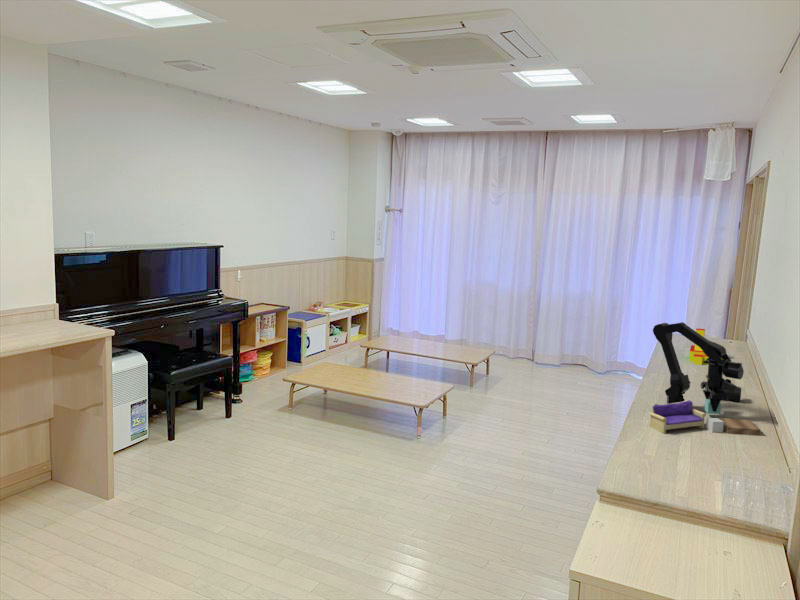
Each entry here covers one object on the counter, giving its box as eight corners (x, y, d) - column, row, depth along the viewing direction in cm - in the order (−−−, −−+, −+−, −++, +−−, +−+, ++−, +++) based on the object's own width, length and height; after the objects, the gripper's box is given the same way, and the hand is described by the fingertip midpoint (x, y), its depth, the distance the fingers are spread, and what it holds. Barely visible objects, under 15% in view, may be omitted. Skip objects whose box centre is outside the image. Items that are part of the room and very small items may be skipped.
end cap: (715, 400, 290) (716, 386, 289) (717, 396, 295) (718, 383, 294) (739, 403, 284) (740, 389, 283) (741, 400, 290) (742, 386, 289)
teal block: (707, 413, 263) (708, 402, 263) (704, 409, 268) (705, 398, 267) (720, 414, 262) (721, 402, 262) (716, 410, 267) (717, 399, 266)
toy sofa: (662, 434, 245) (664, 409, 243) (648, 427, 253) (649, 403, 251) (705, 429, 250) (707, 405, 249) (689, 422, 259) (691, 399, 257)
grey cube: (712, 432, 246) (712, 421, 246) (705, 428, 251) (706, 418, 250) (722, 432, 247) (723, 421, 246) (716, 428, 251) (717, 418, 251)
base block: (727, 434, 245) (727, 427, 245) (718, 424, 257) (718, 417, 256) (759, 436, 243) (760, 429, 242) (749, 426, 254) (749, 419, 254)
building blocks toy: (688, 363, 361) (690, 333, 358) (690, 355, 382) (692, 326, 380) (724, 367, 352) (726, 336, 349) (724, 358, 374) (726, 329, 371)
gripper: (743, 381, 252) (740, 417, 254) (728, 370, 270) (725, 404, 272) (713, 380, 254) (711, 416, 257) (701, 369, 272) (699, 402, 275)
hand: (712, 409), depth 265 cm, fingers closed on teal block, 5 cm apart
